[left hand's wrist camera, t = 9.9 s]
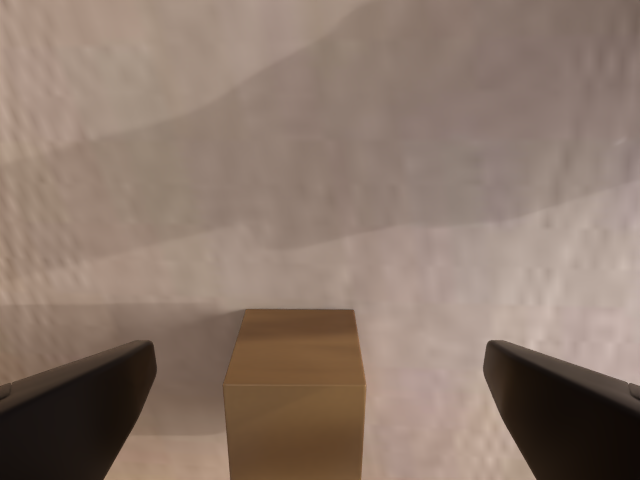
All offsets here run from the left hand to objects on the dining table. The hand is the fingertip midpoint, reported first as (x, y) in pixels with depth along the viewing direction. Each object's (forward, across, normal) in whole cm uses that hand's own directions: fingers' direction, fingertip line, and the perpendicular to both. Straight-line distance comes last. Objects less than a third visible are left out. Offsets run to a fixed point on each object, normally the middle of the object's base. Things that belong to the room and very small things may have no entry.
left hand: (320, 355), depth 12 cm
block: (+6, -1, -5) cm, 8 cm away
